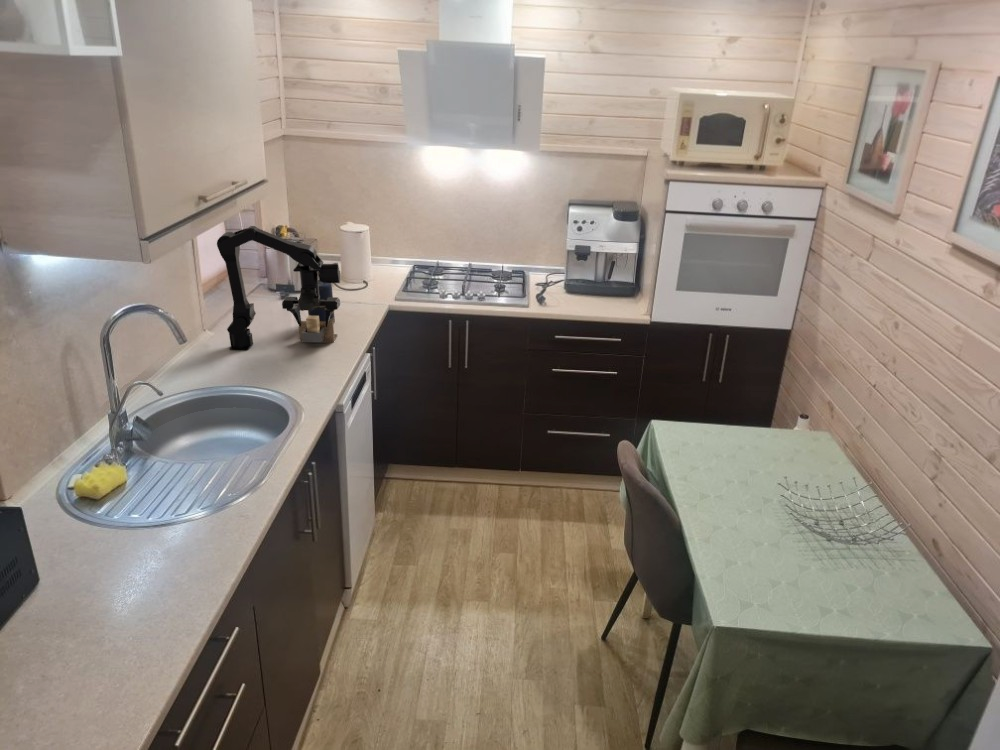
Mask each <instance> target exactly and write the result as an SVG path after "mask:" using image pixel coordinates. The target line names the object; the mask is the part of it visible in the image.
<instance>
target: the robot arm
mask: <svg viewBox="0 0 1000 750" xmlns="http://www.w3.org/2000/svg"><path fill="white" fill-rule="evenodd" d="M252 241H253V242H256V243H257V244H258V243H259V244H261V245H263V246H266V247H268V248H270V249H273V250H274V251H275V250H276V251H278V252H280V253H282V254H285V255H287V256H289V258H290V259H292V260H293V261H295V262H297V265H296V266H294V268H293V272H298V273H299V279H300V286H301V287H300V294H299V298H298V297H297V296H286V297H285V298H283V300H282V302H281V306H282V309H283V310H286V311H287V312H290V313H291V314H292V315H293V317H294V318H295V321H296V323H297V325H298V328H299V327H301V321H302V317H301V312H303V311H308V310H309V311H312V310H314V307H316V306H325V307H326V310H325V313H326V320H325V324H326V327H327V326H328V323H329V319H330V316H331V313H332V312H334V313H335V311H336V310H338V309H339V308H340V306H341V300H340V298H339V297H335V296H333V297H328V298H327V300H320V295H319V284H318V280H321V282H323V283H331V284H340V283H341V270H340V267H339V262H333V263H324V261H323V260H322V259H321V258H320V257H319V255H318V254H317V250H316V248H315V247H314V246H312V245H309V244H306V243H301V242H294V241H290V240H287V239H285V238H283V237H281V236H277V235H275V234H272V233H270V232H269V231H266V230H263V229H261V228H259V227H257V226H256V225H250V226H249V227H247V228H243V229H240V230H237V231H235V232H233V231H226V232H224V233H223V234H222V235H221V236H219V238H218V239H217V241H216V246H217V249H218V252H219V253H220V256H221V257H222V259H223V261H224V262H225V267H226V273H227V276H228V281H229V282H228V283H229V286H230V292H231V295H232V297H231V298H232V300H233V307H232V322H230V324H229V326H228V327H227V328H226V331H227V332H228V335H229V341H230V342H229V343H230V347H229V348H228V349H229V350H230V351H231V350H233V351H234V350H235V351H249V349H250V348H251V347H253V345H254V340H253V333H251V329H250V328H249V327H250V325H251V324H252V322H253V321H254V319H255V316H256V314H257V313H256V311H255V304H254V303H253V302H251V303H250V302H249V301H248V298H247V295H246V294H247V293H246V289H245V285H244V278H243V275H242V269H241V263H240V251H241V248H240V247H241V246H242V245H244V244H247V243H249V242H252Z"/></svg>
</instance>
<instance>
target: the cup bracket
mask: <svg viewBox="0 0 1000 750" xmlns="http://www.w3.org/2000/svg"><path fill="white" fill-rule="evenodd" d="M319 322H320V332H307V324H306V320H301V327H299V326H298V331H299V341H303V342H302V343H335V342H336V340H337V338H338V334H337V333H335V325H334V324H333V321H329V323H328V326H327V327H326V324H325V321H319ZM334 341H335V342H334Z"/></svg>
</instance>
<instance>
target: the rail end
mask: <svg viewBox="0 0 1000 750" xmlns="http://www.w3.org/2000/svg"><path fill="white" fill-rule="evenodd" d="M305 321H306V324H307V332H320V322H319V316H307V317H306V319H305Z"/></svg>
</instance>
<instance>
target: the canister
mask: <svg viewBox="0 0 1000 750" xmlns="http://www.w3.org/2000/svg"><path fill="white" fill-rule="evenodd" d="M318 284H319V295H320V300H327V298H328V297H334V295H333V283H323V282H321V280H319V279H318ZM325 310H326V307H325V306H316V307H314V310H312V311H309V310H307V314H308V316H319V321H325V320H326V313H325ZM308 316H307V317H308ZM335 317H336V316H335V311H334V312H332V313H331V316H330V319H329V321H333V325H334V324H335V323H336V319H335Z"/></svg>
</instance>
